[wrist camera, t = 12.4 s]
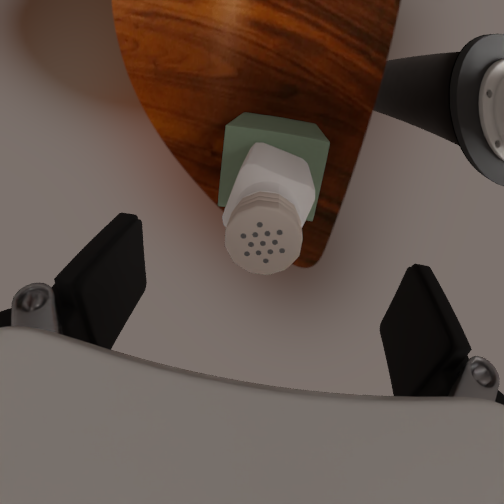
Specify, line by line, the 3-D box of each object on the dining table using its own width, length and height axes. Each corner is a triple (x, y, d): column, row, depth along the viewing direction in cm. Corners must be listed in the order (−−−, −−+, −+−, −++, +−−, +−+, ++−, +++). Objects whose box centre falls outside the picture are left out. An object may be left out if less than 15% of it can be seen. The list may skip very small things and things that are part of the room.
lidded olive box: (315, 123, 27) (330, 142, 19) (304, 180, 30) (312, 221, 22) (243, 112, 27) (225, 124, 19) (236, 169, 30) (217, 206, 22)
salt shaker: (234, 189, 21) (202, 264, 13) (255, 137, 19) (232, 181, 11) (287, 209, 22) (287, 294, 14) (310, 160, 20) (329, 220, 12)
